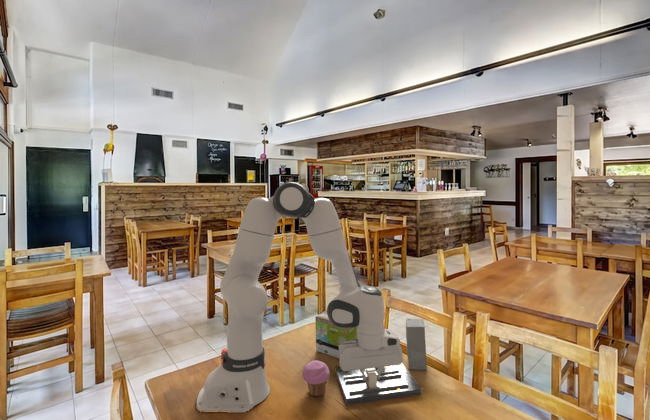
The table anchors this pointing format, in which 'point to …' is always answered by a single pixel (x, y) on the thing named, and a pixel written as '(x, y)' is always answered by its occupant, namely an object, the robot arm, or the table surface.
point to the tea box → (331, 335)
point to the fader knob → (371, 377)
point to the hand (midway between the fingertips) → (371, 379)
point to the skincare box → (416, 344)
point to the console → (389, 386)
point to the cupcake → (316, 377)
